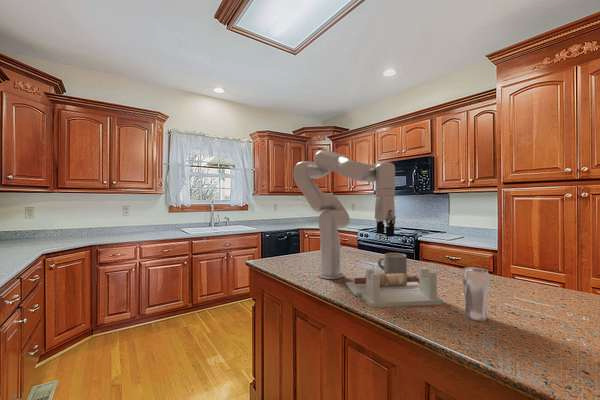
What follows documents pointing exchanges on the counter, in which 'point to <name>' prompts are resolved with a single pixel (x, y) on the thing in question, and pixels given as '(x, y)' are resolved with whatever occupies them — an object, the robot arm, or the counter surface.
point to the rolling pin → (390, 279)
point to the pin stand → (402, 298)
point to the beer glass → (475, 292)
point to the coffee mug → (394, 263)
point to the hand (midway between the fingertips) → (385, 234)
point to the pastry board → (382, 288)
